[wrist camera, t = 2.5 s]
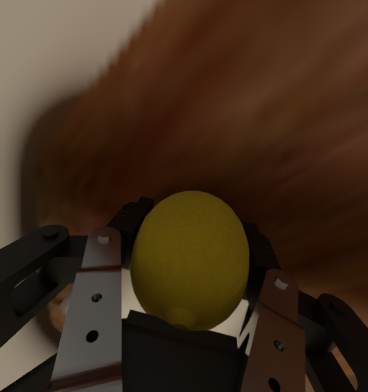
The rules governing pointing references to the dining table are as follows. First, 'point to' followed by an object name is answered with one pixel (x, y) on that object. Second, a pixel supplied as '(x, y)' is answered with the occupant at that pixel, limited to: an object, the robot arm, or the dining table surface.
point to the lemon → (190, 261)
